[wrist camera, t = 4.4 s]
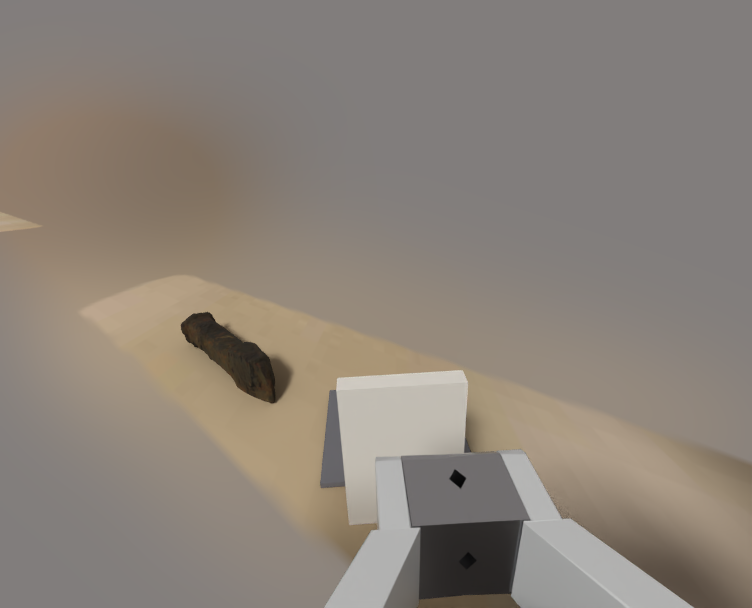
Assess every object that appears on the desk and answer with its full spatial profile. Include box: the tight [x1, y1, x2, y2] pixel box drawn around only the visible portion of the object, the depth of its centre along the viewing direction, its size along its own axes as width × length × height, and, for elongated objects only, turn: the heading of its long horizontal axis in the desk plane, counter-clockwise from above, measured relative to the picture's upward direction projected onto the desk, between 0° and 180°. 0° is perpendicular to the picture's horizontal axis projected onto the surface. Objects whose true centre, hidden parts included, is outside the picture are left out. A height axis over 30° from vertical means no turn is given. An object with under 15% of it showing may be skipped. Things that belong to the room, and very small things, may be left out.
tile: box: [336, 370, 468, 525], centre depth 23 cm, size 7×2×10 cm, turn 93°
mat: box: [320, 390, 471, 488], centre depth 32 cm, size 11×11×1 cm
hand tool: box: [181, 312, 275, 403], centre depth 42 cm, size 19×4×5 cm, turn 40°
